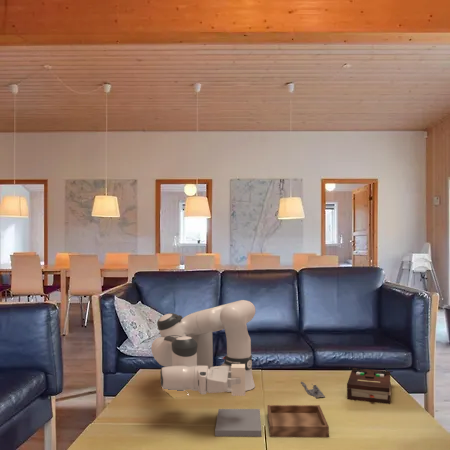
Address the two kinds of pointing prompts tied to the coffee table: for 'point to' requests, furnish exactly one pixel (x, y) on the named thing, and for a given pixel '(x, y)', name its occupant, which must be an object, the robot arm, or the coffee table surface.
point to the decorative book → (369, 385)
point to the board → (238, 422)
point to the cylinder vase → (204, 349)
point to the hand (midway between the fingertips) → (240, 378)
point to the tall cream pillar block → (238, 372)
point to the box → (297, 421)
